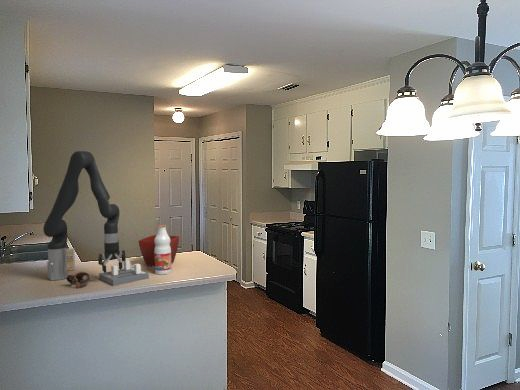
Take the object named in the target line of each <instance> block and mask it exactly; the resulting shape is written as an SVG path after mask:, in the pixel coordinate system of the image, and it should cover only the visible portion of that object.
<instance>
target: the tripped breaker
mask: <svg viewBox="0 0 520 390" xmlns="http://www.w3.org/2000/svg"><path fill="white" fill-rule="evenodd" d="M110 268H111V269H110V271H111V274H112V275H118V270H119V264H118V265H117V264H112V265H111V266H110Z"/></svg>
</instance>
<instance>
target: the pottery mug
mask: <svg viewBox="0 0 520 390" xmlns="http://www.w3.org/2000/svg"><path fill="white" fill-rule="evenodd" d="M85 276H86V277H87V278H86V279H84V278H83V277H85ZM65 279H66V281H67V282H68V283H70V285H71V286H73V285H74V286H75V288H76V289H80V287H82V286H85V285H88V283H90V281H91V278H90V274H89V273H87V272H84V271H78V272H76V273H74V275H73V274H69V275H68V274H67V278H65Z"/></svg>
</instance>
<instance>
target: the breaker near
mask: <svg viewBox="0 0 520 390" xmlns="http://www.w3.org/2000/svg"><path fill="white" fill-rule="evenodd" d="M133 267H134V273H135V274H140V273H141V270H142V267H141V264H140V263H134V264H133Z"/></svg>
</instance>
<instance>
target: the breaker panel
mask: <svg viewBox="0 0 520 390" xmlns="http://www.w3.org/2000/svg"><path fill="white" fill-rule="evenodd" d="M149 277H150V276H149V272H146V271H144V270H142V269H141V273H140V274H135V273H134V266H133V267H130V269H129V270H125V269H124V268H122V269H121V270H120V269H118V275H112V274H111V270H110V271H106V272H100V273H98V279H99V280H101V281H103V282H105V283H107V284H109V285H111V286H113V287H115V286H119V285H124V284H128V283H134V282H138V281H142V280H149V279H150V278H149Z"/></svg>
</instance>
